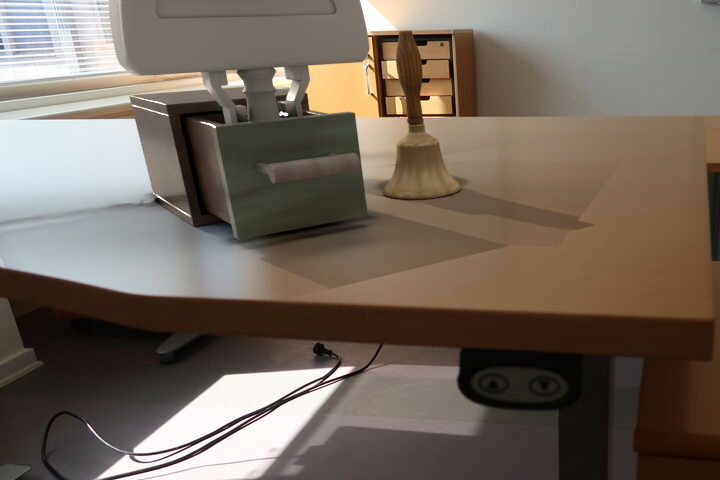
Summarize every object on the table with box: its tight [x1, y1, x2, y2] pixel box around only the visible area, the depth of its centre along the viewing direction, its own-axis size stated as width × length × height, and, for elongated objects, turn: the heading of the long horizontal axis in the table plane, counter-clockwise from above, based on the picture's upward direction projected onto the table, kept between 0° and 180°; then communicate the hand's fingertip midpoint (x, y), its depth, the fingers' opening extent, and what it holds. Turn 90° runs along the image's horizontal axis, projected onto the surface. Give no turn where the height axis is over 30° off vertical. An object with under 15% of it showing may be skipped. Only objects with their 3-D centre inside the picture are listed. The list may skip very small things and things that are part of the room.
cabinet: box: [128, 86, 311, 228], centre depth 75 cm, size 15×13×11 cm
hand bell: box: [383, 30, 461, 200], centre depth 77 cm, size 8×8×16 cm
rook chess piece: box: [235, 68, 281, 122], centre depth 64 cm, size 4×4×8 cm
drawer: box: [180, 108, 369, 241], centre depth 65 cm, size 18×12×9 cm, turn 38°
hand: (265, 125), depth 64 cm, fingers closed on rook chess piece, 3 cm apart
